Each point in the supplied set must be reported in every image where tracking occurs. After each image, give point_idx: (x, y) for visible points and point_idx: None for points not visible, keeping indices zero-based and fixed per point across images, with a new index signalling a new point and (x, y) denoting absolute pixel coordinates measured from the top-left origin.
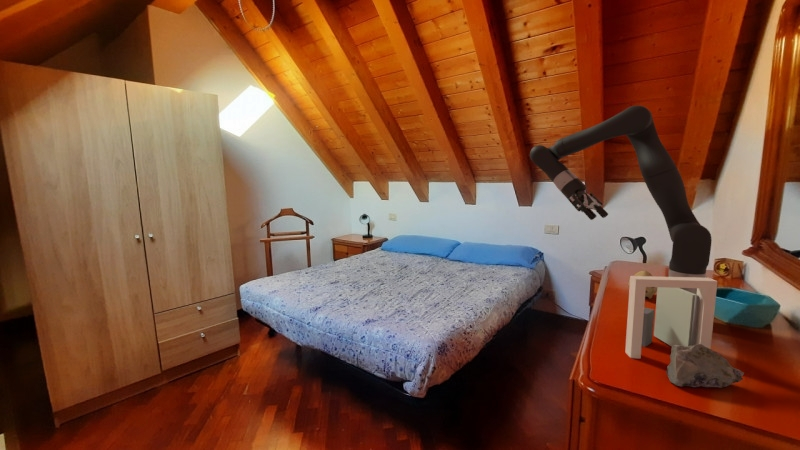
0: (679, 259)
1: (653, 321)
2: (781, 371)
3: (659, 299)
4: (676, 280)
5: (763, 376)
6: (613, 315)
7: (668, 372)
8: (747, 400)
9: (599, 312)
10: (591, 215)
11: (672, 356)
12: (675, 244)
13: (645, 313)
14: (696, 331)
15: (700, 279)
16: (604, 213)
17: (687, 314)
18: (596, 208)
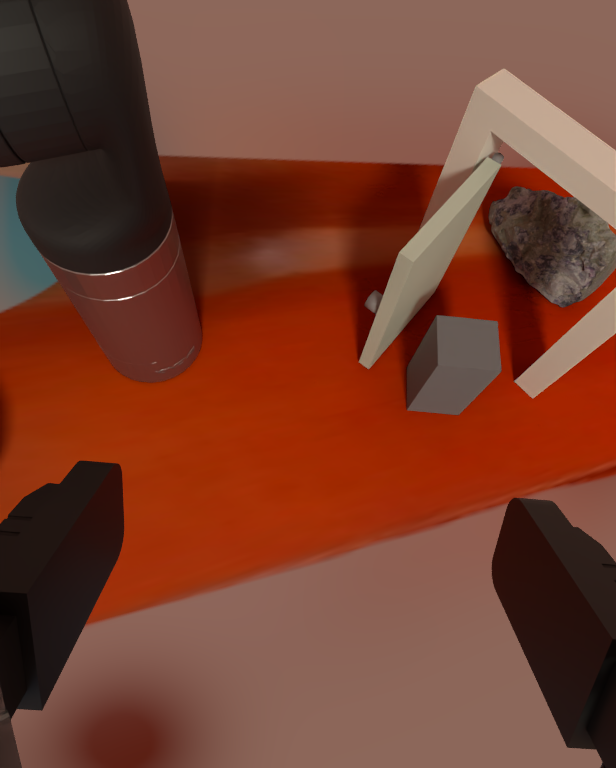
0: (162, 185)
1: (425, 336)
2: (344, 173)
3: (404, 294)
4: (606, 146)
5: (397, 193)
6: (270, 515)
7: (582, 296)
8: None
9: (277, 567)
10: (595, 555)
11: (609, 266)
12: (143, 134)
13: (497, 326)
14: None
15: (526, 99)
16: (104, 511)
17: (467, 224)
18: (9, 707)
